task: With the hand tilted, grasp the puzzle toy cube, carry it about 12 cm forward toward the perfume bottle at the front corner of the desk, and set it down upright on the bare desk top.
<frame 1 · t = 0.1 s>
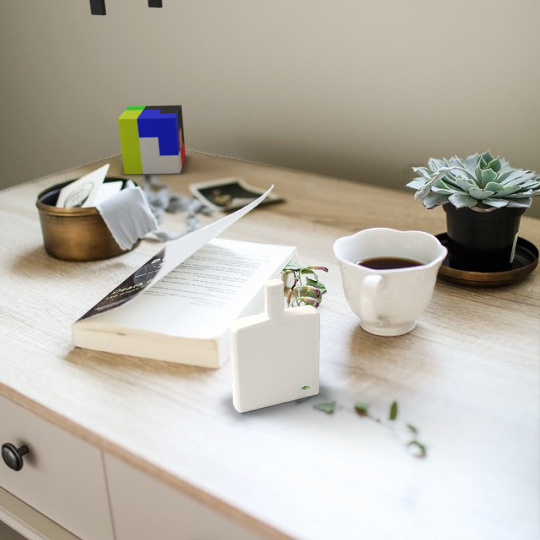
hand: (128, 11, 114), 27 cm above the table, tool pointing down, fingers open, 13 cm apart
perfume bottle: (276, 400, 61), on the table
puzzle toy: (156, 166, 125), on the table
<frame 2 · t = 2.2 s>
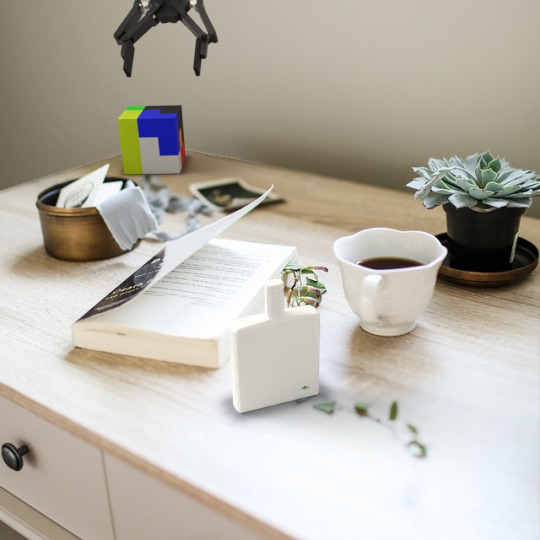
hand: (161, 72, 128), 15 cm above the table, tool tilted 45°, fingers open, 13 cm apart
nothing on the table moved.
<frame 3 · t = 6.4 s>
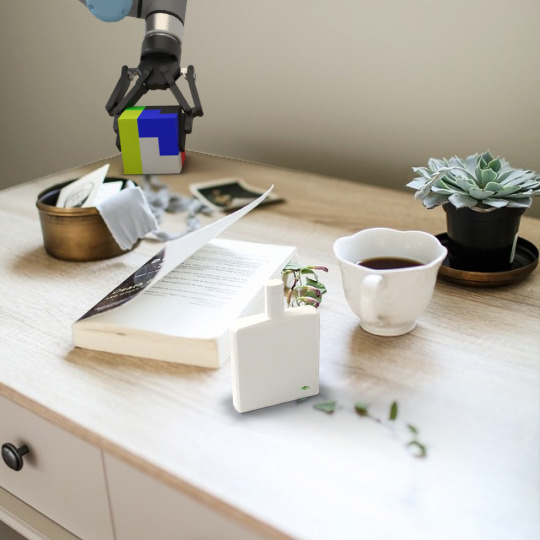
hand: (150, 148, 121), 4 cm above the table, tool tilted 45°, fingers closed on puzzle toy, 11 cm apart
puzzle toy: (156, 166, 125), on the table, touching gripper
everything else where it was.
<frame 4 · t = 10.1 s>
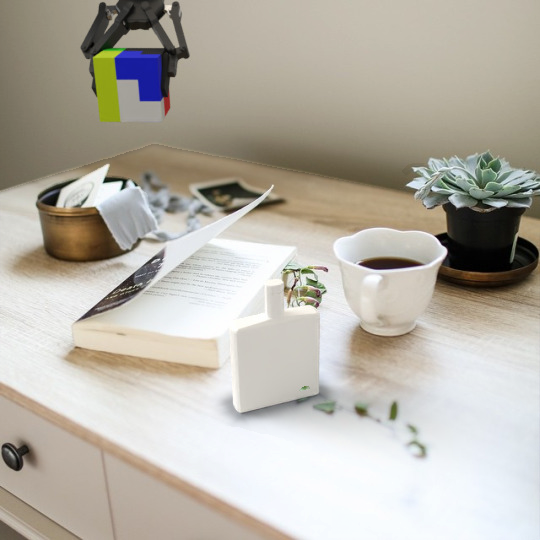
hand: (130, 92, 108), 16 cm above the table, tool tilted 45°, fingers closed on puzzle toy, 10 cm apart
puzzle toy: (136, 115, 113), point 11 cm above the table, touching gripper
everything else where it was.
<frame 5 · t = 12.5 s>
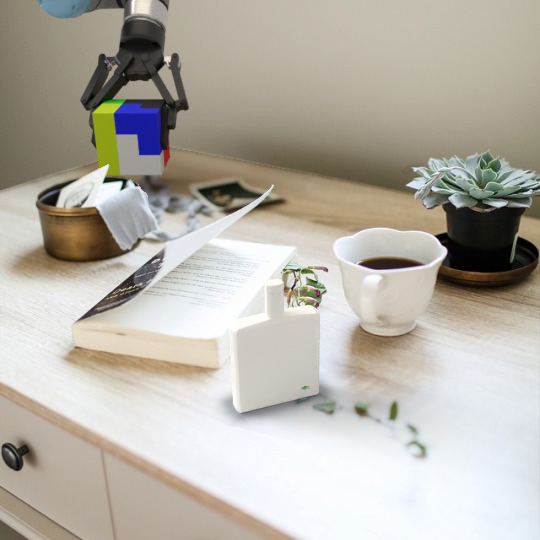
hand: (129, 145, 108), 8 cm above the table, tool tilted 45°, fingers closed on puzzle toy, 10 cm apart
puzzle toy: (136, 166, 113), point 4 cm above the table, touching gripper
everything else where it was.
when the fingers open (4 cm above the table, at t = 14.2 s): puzzle toy stays where it is, on the table.
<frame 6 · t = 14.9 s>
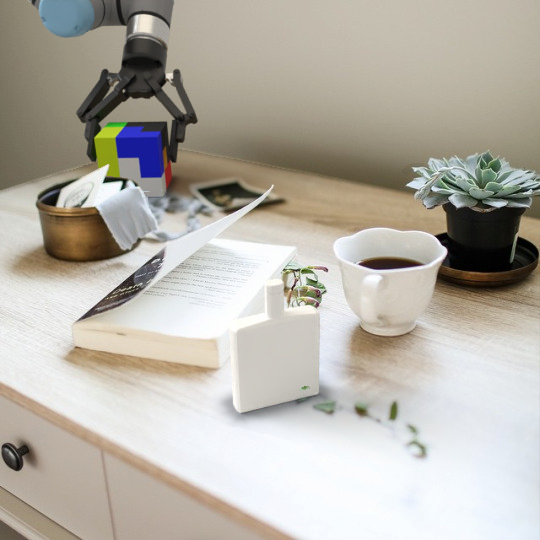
hand: (131, 158, 110), 6 cm above the table, tool tilted 45°, fingers open, 13 cm apart
puzzle toy: (138, 188, 115), on the table
everything else where it was.
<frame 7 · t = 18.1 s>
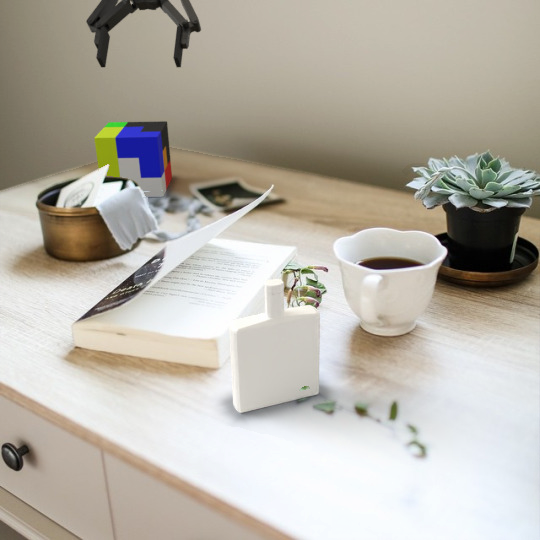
hand: (138, 62, 117), 19 cm above the table, tool tilted 45°, fingers open, 13 cm apart
nothing on the table moved.
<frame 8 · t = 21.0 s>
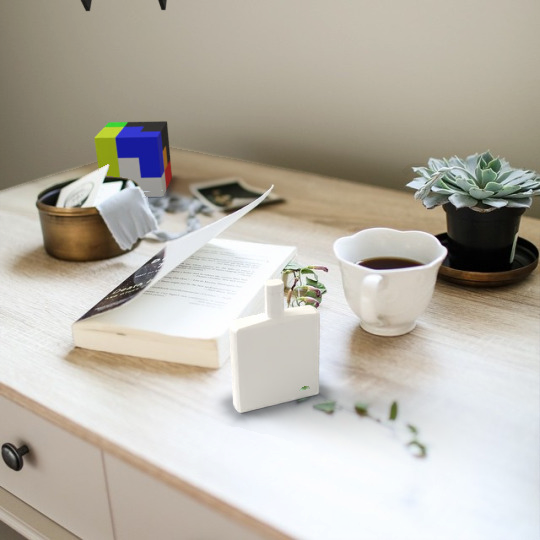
hand: (123, 5, 117), 28 cm above the table, tool tilted 45°, fingers open, 13 cm apart
nothing on the table moved.
at the end: puzzle toy tilted 0°; the gripper is holding nothing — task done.
